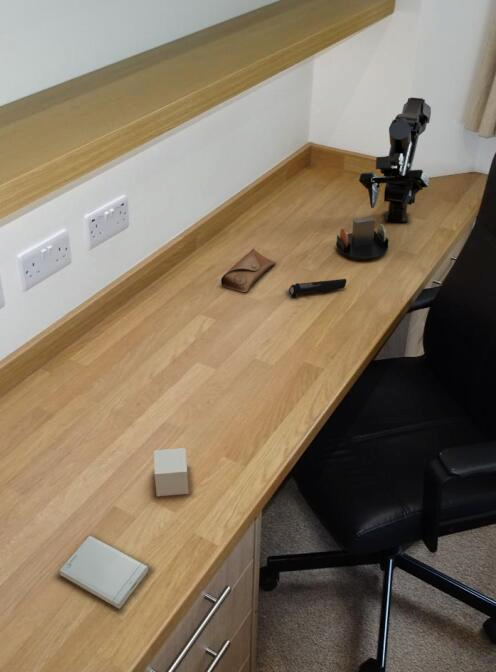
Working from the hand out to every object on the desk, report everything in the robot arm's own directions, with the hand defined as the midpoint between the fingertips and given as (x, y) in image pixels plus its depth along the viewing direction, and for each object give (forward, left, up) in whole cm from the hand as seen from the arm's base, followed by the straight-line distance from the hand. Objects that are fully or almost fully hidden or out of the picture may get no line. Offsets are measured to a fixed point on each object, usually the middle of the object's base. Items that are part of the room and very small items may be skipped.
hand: (387, 207), depth 195 cm
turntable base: (-3, -6, -16) cm, 17 cm away
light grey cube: (+92, -42, -16) cm, 103 cm away
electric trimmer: (+21, -18, -16) cm, 32 cm away
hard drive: (+113, -49, -16) cm, 124 cm away
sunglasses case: (+15, -37, -16) cm, 43 cm away
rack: (-3, -6, -16) cm, 17 cm away
